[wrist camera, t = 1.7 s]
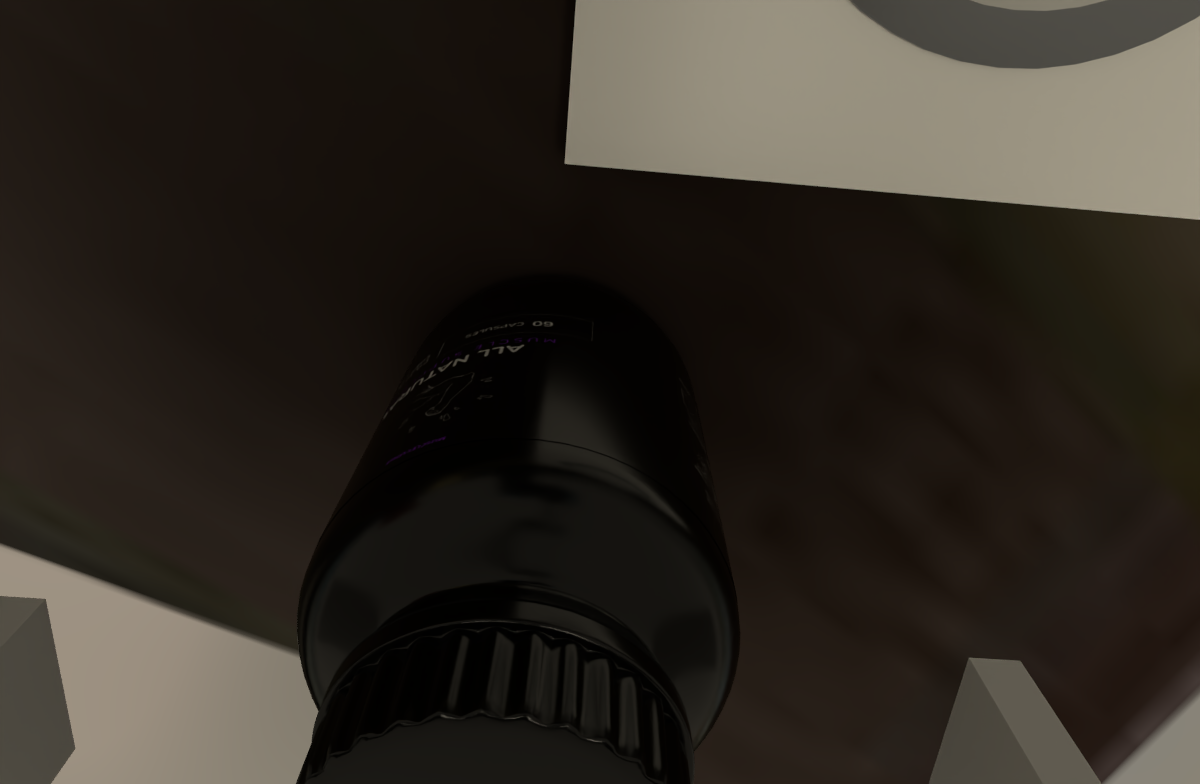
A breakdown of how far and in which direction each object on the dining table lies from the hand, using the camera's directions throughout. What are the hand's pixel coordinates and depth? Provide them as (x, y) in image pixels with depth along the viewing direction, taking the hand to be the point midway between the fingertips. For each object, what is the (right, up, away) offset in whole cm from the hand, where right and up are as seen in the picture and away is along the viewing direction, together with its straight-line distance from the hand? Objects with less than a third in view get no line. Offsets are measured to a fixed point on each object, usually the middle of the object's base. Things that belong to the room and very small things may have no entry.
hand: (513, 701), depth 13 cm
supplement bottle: (0, +4, +8) cm, 9 cm away
